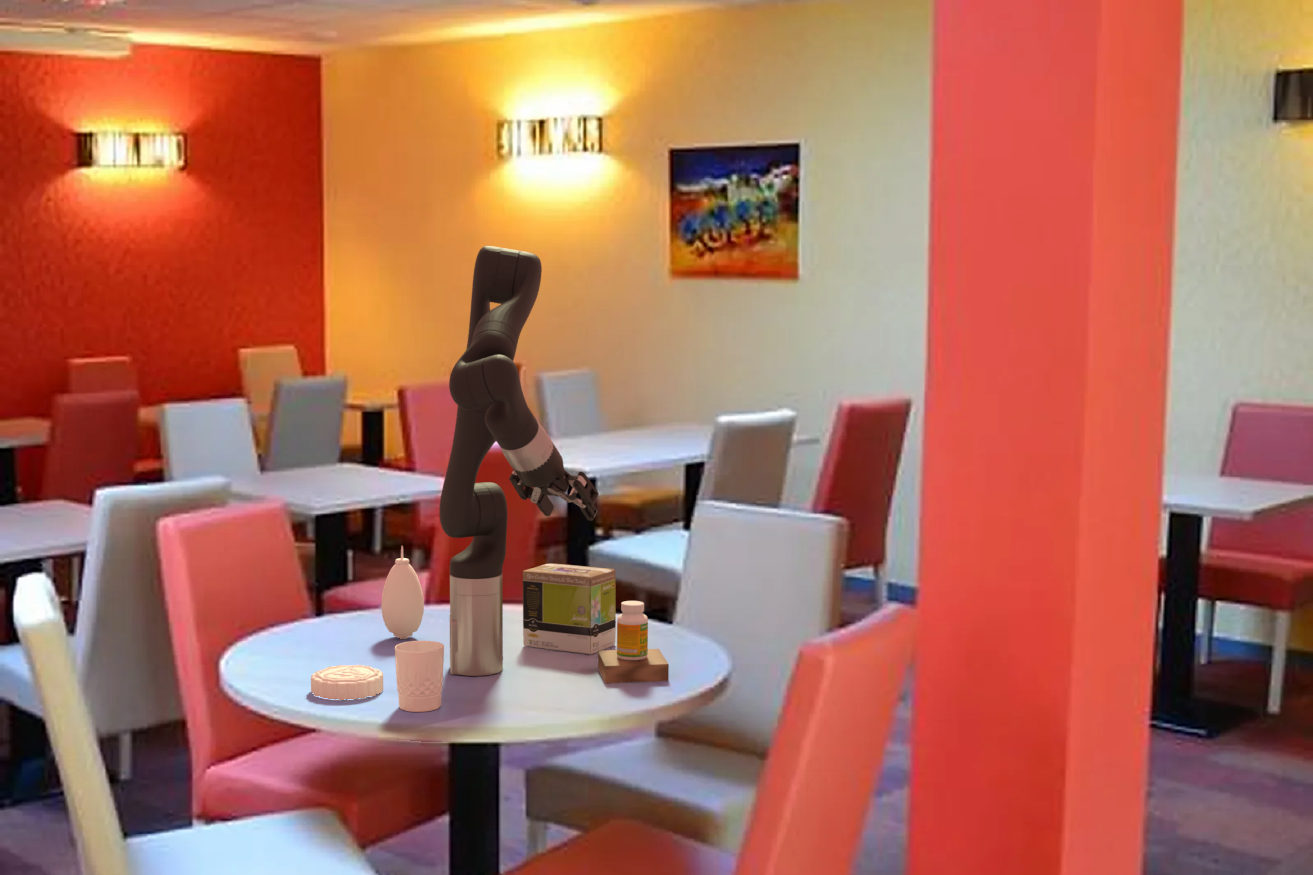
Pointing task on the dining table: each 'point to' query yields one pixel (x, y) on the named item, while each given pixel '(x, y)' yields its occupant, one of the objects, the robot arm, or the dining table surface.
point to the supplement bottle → (632, 632)
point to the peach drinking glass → (419, 675)
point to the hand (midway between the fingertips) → (571, 514)
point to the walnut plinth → (633, 667)
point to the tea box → (569, 608)
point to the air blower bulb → (402, 599)
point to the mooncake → (347, 682)
